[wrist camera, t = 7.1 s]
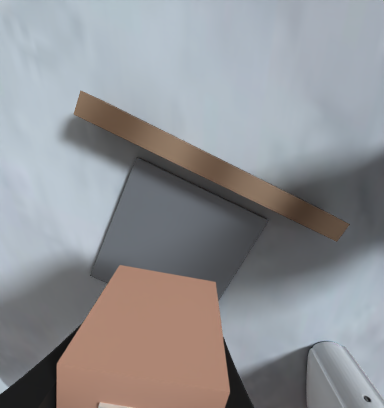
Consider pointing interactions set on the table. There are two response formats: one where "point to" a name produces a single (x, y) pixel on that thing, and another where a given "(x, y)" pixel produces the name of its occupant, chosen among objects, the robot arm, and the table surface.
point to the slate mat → (176, 229)
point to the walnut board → (207, 165)
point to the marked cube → (147, 346)
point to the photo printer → (338, 380)
